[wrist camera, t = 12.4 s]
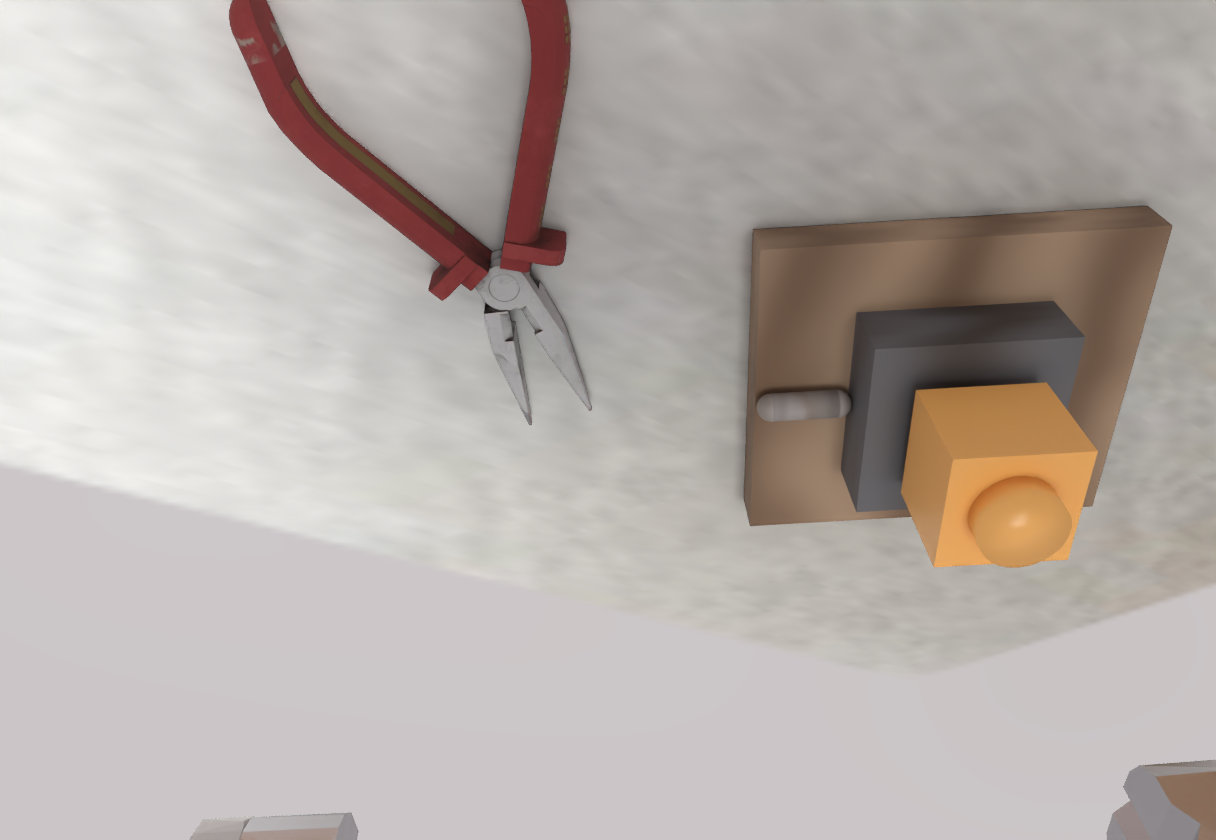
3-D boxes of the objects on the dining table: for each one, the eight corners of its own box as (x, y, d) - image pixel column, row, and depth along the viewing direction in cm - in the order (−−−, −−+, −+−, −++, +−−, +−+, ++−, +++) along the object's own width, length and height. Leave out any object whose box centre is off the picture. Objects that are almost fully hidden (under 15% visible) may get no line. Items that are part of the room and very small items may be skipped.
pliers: (444, 434, 46) (437, 467, 44) (225, -9, 35) (202, 6, 33) (682, 367, 44) (688, 398, 42) (530, -119, 34) (527, -110, 31)
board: (1147, 206, 40) (1287, 317, 32) (1074, 480, 48) (1172, 623, 40) (752, 229, 40) (796, 346, 32) (743, 499, 48) (777, 645, 40)
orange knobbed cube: (1046, 382, 38) (1113, 472, 33) (1022, 485, 41) (1081, 581, 36) (916, 389, 38) (964, 480, 33) (900, 492, 41) (943, 589, 36)
